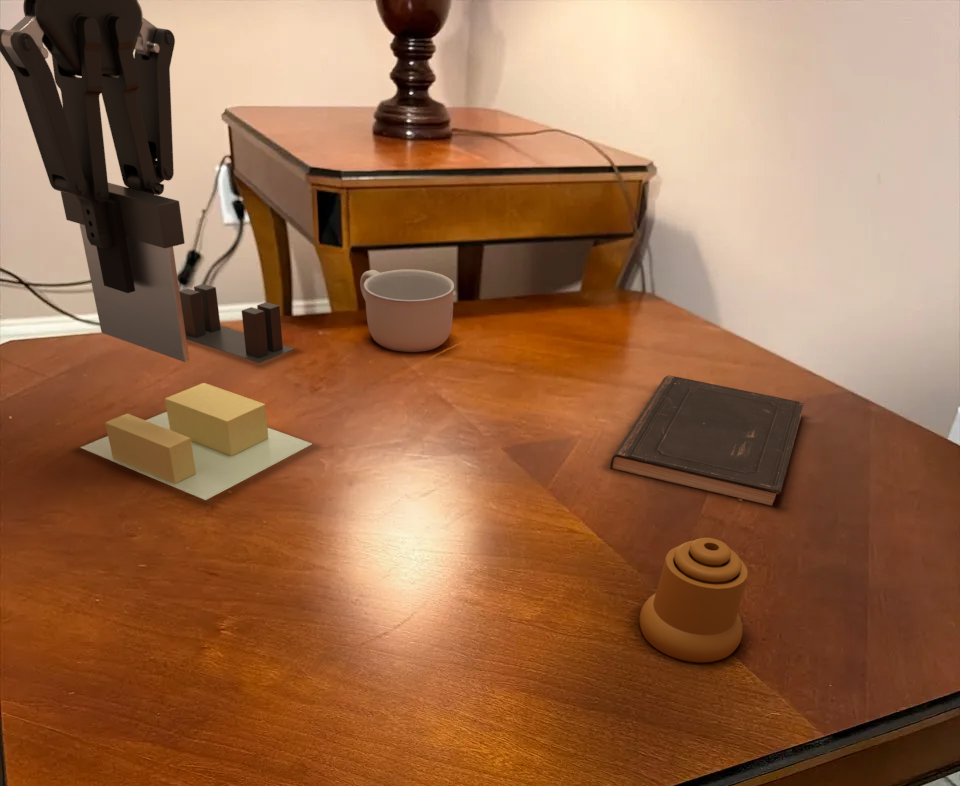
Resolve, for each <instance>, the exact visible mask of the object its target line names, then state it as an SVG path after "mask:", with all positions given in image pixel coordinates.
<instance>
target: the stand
mask: <svg viewBox="0 0 960 786" xmlns="http://www.w3.org/2000/svg"><path fill="white" fill-rule="evenodd" d="M179 292H180V299H181V306H182V313H183V320H184V327H185V334H186V341H187V340H188V341H191V342H194V343H197V344H200V345H202V346H206V347H207V348H208V347H209V348H211V349H215V350H218V351H220V352H224V353H227V354H230V355H234V356H236V357H238V358H239V357H240V358H243V359H246V360H249V361H251V362H255V363H258V364H262V363H264V362H266V361H268V360H271V359H274V358H276V357H279V356H281V355H284V354H286V353H288V352H291V351H294V350H295V348H294V347H291V346H287V345H284V344H283V333H282V321H281V307H280V305H278V304H274V303H272V302H268V301H266V302H262V303H259V304H257V305H256V308H255V307H253V306H250V307H247V308H245V309H242V310H241V319H242V328H243V332H242V331H239V330H236V329H233V328H230V327H226V326H223V325H221V319H220V312H219V311H220V310H219V302H218V294H217V288H216V286H212V285H209V284H207V283H206V284H205V283H202V284H198V285H194V286H193V289H192V288H184V289H181V290H179Z"/></svg>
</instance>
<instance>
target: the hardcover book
mask: <svg viewBox="0 0 960 786" xmlns="http://www.w3.org/2000/svg"><path fill="white" fill-rule="evenodd" d="M805 405H806V403H805V402H804V401H803V402H802V401H798V400H794V399H788V398H783V397H778V396H774V395H769V394H764V393H759V392H753V391H749V390H744V389H739V388H733V387H729V386H725V385H719V384H714V383H710V382H709V383H708V382H704V381H699V380H694V379H690V378H686V377H685V378H684V377H680V376H675V375H666V376H664V377H663V379H661V381H660V383H659V385H658V386H657V387H656V389H655V391H654V392H653V394H652V396H651V397H650V399H649V400H648V401H647V403H646V405H645V406H644V408H643V409H642V411H641V413H640V414H639V415H638V417H637V418H636V420H635V421H634V423H633V425H632V426H631V428H630V429H629V430H628V433H627V434H626V435H625V436H624V439H623V440H622V441H621V443H620V445H619V446H618V448H617V449H616V451H615V452H614V454H613V455H612V456H611V460H610V466H609V469H610V470H613V469H614V470H618V471H623V472H627V473H631V474H635V475H640V476H643V477H648V478H652V479H657V480H661V481H665V482H669V483H673V484H678V485H682V486H686V487H692V488H696V489H700V490H704V491H708V492H712V493H717V494H721V495H724V496H730V497H734V498H738V499H742V500H746V501H751V502H755V503H760V504H763V505H767V506H773V503H774V502H775V499H776V496H777V495H781V494H782V489H783V485H784V482H785V477H786V475H787V471H788V467H789V463H790V460H791V456H792V452H793V449H794V445H795V441H796V437H797V435H798V434H797V433H798V430H799V426H800V422H801V419H802V415H803V411H804V407H805Z"/></svg>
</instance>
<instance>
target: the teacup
mask: <svg viewBox="0 0 960 786" xmlns="http://www.w3.org/2000/svg"><path fill="white" fill-rule="evenodd" d="M359 281H360V282H359V286H360V292H361V295H362V298H363V299H364V301H365V312H366V322H367V328H368V332H369V334H370V336H371V337H372V339H373V341H375V342H376V343H377V344H378V345H379V346H382V347H383V348H385V349H388V350H391V351H397V352H401V353H422V352H428V351H432V350H434V349H436V348H438V347H440V346H442V345H443V344H445V342H446V341H447V340H448V338H449V337H450V335H451V332H452V327H453V317H454V292H455V283H454V281H453V280H452V279H451V278H450V277H447V276H446V275H444V274H441V273H438V272H434V271H429V270H424V269H414V268H413V269H412V268H411V269H409V268H408V269H407V268H405V269H393V270H386V271H383V272H380V271H378V270H376V269H370V270H366V271H364V272H363V274H362V275H361V277H360V280H359Z"/></svg>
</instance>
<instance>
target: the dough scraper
mask: <svg viewBox="0 0 960 786" xmlns="http://www.w3.org/2000/svg"><path fill="white" fill-rule="evenodd" d="M108 189H109V197H108V198H109V199H113V200H116V201H119V202H120V208H121V213H122V219H123V225H124V231H125V236H126V241H127V246H128V252H129V258H130V264H131V269H132V275H133V281H134V287H135V291H134V292H130V293H125V292H122V291H119V290H116V289H113V288H110V287H107V286H104V283H103V278H102V272H101V267H100V262H99V257H98V252H97V247H96V246H94V245H91V244H90V242H89V240H88V238H87V234H86V229H85V223H84V219H83V214H82V209H81V204H80V201H79V199H78V198H77V197H76V196H74V195H72V194H68V193H65V192H61V191H60V196H61V200H62V205H63V210H64V215H65V219H66V221H68V222H72V223H76V224H79V229H80V234H81V239H82V243H83V249H84V252H85V258H86V263H87V267H88V268H87V269H88V272H89V277H90V283H91V287H92V293H93V298H94V302H95V309H96V312H97V317H98V322H99V323H98V324H99V327H100V332H101V334H104V335H107V336H110V337H112V338H115V339H119V340H121V341H124V342H127V343H129V344H132V345H136V346H138V347H141V348H144V349H146V350H149V351H153V352H154V353H158V354H161V355H163V356H165V357H169V358H172V359H175V360H177V361H180V362H182V363H187V362H189V361H190V356H189V349H188V348H189V347H188V343H187V339H186V334H185V327H184V320H183V313H182V306H181V299H180V292H179V291H180V285H179V279H178V272H177V265H176V257H175V249H174V247H177V246H180V245H184V244H185V242H186V241H185V236H184V227H183V220H182V213H181V212H182V211H181V205H180V201H179V200H177V199H174V198H170V197H165V196H161V195H155V194H150V193H146V192H143V191H139V190H135V189H131V188H128V187H126V186H123V185H119V184H116V183H111V182H108Z"/></svg>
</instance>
